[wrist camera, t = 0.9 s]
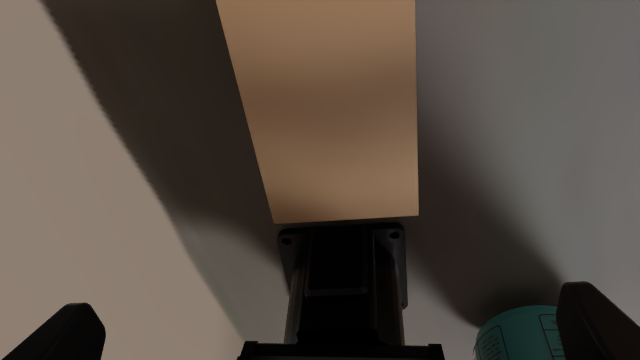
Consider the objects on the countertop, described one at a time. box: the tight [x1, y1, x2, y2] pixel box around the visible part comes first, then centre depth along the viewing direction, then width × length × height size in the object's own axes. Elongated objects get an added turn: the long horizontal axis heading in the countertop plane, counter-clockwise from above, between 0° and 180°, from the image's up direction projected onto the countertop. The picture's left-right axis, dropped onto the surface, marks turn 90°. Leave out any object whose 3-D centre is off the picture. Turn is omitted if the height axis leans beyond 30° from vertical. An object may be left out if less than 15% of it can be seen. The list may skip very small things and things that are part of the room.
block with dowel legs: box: [216, 0, 419, 224], centre depth 17 cm, size 8×5×6 cm, turn 8°
